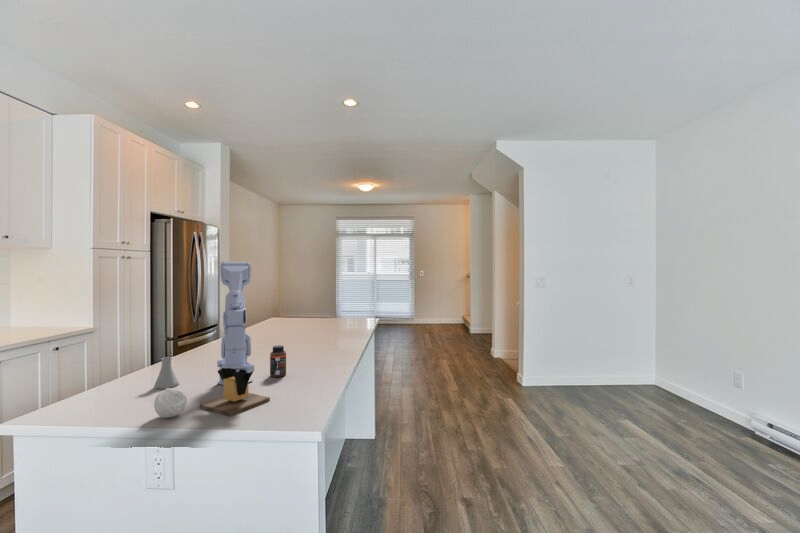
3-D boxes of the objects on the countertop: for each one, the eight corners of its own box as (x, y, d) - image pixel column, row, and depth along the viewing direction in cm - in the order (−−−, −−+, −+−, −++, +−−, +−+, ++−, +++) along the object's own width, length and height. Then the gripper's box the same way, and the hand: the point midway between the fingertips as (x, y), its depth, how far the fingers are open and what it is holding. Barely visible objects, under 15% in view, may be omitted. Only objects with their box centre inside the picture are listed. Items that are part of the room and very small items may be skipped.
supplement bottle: (281, 378, 141) (281, 348, 141) (266, 377, 142) (266, 347, 142) (289, 373, 146) (288, 345, 146) (275, 373, 148) (275, 344, 148)
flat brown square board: (199, 407, 111) (199, 392, 111) (240, 393, 123) (239, 380, 123) (230, 416, 104) (230, 400, 104) (269, 400, 116) (269, 386, 116)
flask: (149, 388, 130) (149, 359, 130) (169, 382, 136) (169, 355, 136) (163, 390, 127) (163, 361, 127) (183, 384, 134) (183, 356, 134)
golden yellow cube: (223, 398, 113) (223, 378, 113) (237, 393, 117) (237, 374, 117) (234, 401, 110) (234, 381, 111) (248, 396, 115) (248, 376, 115)
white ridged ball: (168, 423, 100) (168, 394, 100) (146, 420, 102) (146, 392, 102) (192, 412, 107) (192, 385, 107) (171, 410, 109) (171, 383, 109)
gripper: (208, 348, 114) (208, 393, 114) (239, 353, 107) (239, 401, 107) (228, 344, 120) (228, 386, 120) (259, 348, 113) (260, 393, 113)
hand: (235, 393), depth 114 cm, fingers closed on golden yellow cube, 5 cm apart
